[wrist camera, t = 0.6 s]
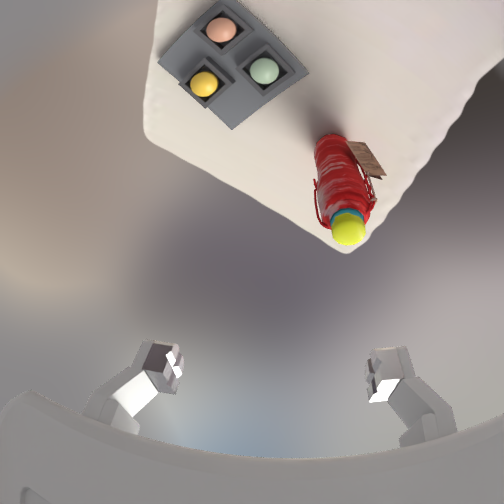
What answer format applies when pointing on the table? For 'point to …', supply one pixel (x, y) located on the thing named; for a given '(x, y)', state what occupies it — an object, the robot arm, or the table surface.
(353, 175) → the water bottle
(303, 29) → the table surface
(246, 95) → the button panel
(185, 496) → the robot arm
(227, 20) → the terracotta button
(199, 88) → the amber button
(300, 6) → the table surface
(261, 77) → the sage button
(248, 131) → the table surface
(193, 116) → the table surface
